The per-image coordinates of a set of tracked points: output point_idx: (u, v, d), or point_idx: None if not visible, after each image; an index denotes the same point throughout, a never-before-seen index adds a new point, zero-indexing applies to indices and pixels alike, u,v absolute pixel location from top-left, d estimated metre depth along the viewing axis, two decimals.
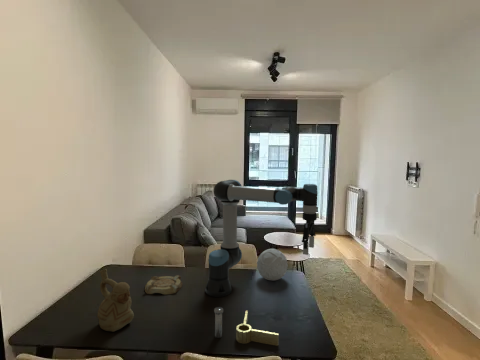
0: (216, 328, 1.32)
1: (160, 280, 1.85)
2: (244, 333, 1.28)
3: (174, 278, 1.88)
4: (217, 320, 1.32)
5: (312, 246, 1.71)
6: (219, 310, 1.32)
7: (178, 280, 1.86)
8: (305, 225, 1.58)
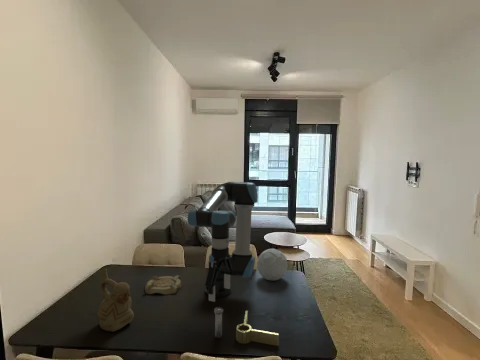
0: (216, 328, 1.32)
1: (160, 280, 1.85)
2: (244, 333, 1.28)
3: (174, 278, 1.88)
4: (217, 320, 1.32)
5: (228, 287, 1.38)
6: (219, 310, 1.32)
7: (178, 280, 1.86)
8: (210, 264, 1.25)
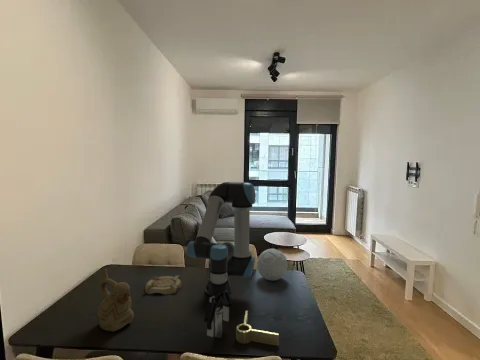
0: (216, 328, 1.32)
1: (160, 280, 1.85)
2: (244, 333, 1.28)
3: (174, 278, 1.88)
4: (217, 320, 1.32)
5: (226, 319, 1.38)
6: (219, 310, 1.32)
7: (178, 280, 1.86)
8: (209, 300, 1.26)
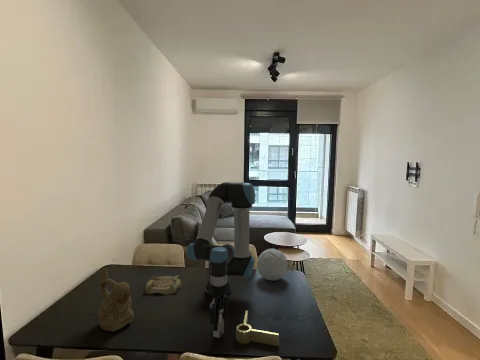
0: None
1: (160, 280, 1.85)
2: (244, 333, 1.28)
3: (174, 278, 1.88)
4: None
5: None
6: (219, 310, 1.32)
7: (178, 280, 1.86)
8: (210, 306, 1.27)
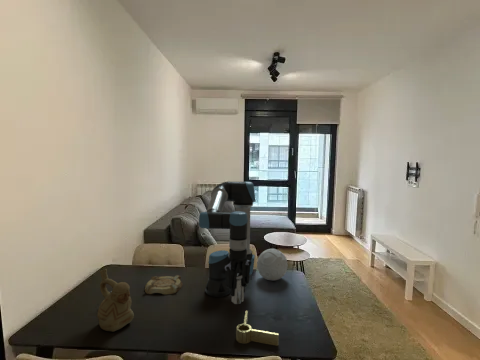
0: None
1: (160, 280, 1.85)
2: (244, 333, 1.28)
3: (174, 278, 1.88)
4: (235, 286, 1.29)
5: (241, 299, 1.31)
6: (237, 276, 1.28)
7: (178, 280, 1.86)
8: (225, 268, 1.26)
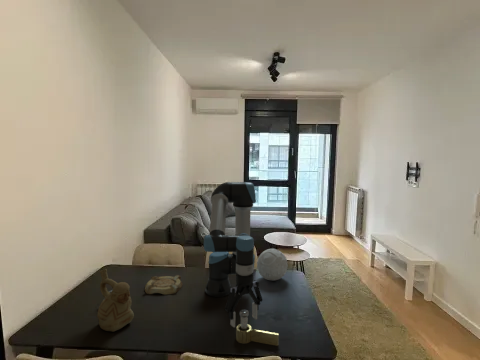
0: None
1: (160, 280, 1.85)
2: (244, 333, 1.28)
3: (174, 278, 1.88)
4: (241, 322, 1.30)
5: (254, 317, 1.33)
6: (243, 313, 1.29)
7: (178, 280, 1.86)
8: (230, 290, 1.26)
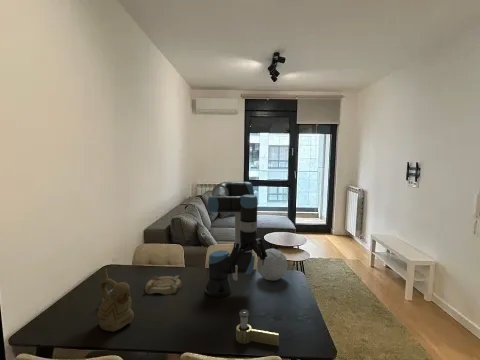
0: None
1: (160, 280, 1.85)
2: (244, 333, 1.28)
3: (174, 278, 1.88)
4: (241, 322, 1.30)
5: (260, 271, 1.39)
6: (243, 313, 1.29)
7: (178, 280, 1.86)
8: (234, 244, 1.31)
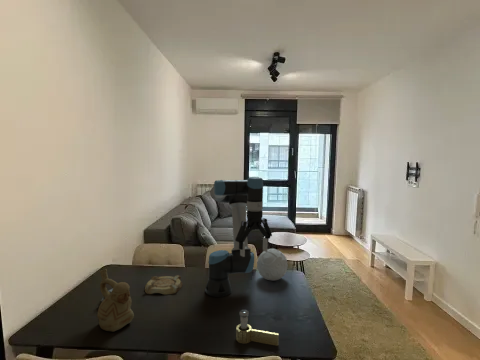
0: None
1: (160, 280, 1.85)
2: (244, 333, 1.28)
3: (174, 278, 1.88)
4: (241, 322, 1.30)
5: (265, 250, 1.48)
6: (243, 313, 1.29)
7: (178, 280, 1.86)
8: (242, 223, 1.41)
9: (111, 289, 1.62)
